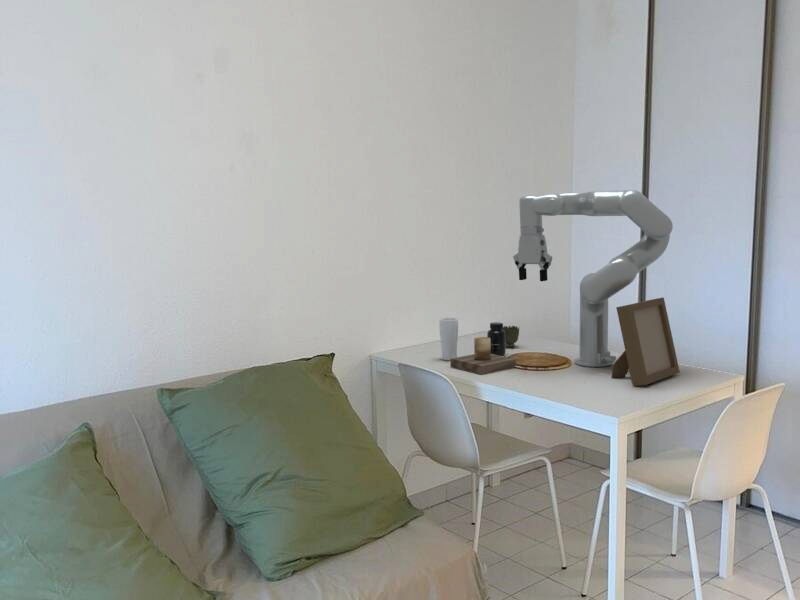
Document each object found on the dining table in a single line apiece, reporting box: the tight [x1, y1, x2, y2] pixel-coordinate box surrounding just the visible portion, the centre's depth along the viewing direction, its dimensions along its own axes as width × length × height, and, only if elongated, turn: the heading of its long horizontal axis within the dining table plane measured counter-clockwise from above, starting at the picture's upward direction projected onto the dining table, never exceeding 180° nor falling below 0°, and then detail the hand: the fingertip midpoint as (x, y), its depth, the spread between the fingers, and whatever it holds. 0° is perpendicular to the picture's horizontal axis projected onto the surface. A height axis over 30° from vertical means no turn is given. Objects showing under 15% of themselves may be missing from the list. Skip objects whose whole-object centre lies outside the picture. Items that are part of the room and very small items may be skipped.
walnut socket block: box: [449, 353, 517, 376], centre depth 264 cm, size 16×16×3 cm
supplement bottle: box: [486, 321, 507, 357], centre depth 283 cm, size 7×7×12 cm
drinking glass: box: [439, 317, 459, 361], centre depth 277 cm, size 7×7×15 cm
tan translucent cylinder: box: [473, 336, 491, 361], centre depth 263 cm, size 6×6×10 cm
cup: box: [502, 325, 520, 349], centre depth 298 cm, size 8×7×8 cm
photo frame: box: [611, 297, 681, 387], centre depth 241 cm, size 15×22×25 cm
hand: (533, 280), depth 267 cm, fingers open, 9 cm apart
